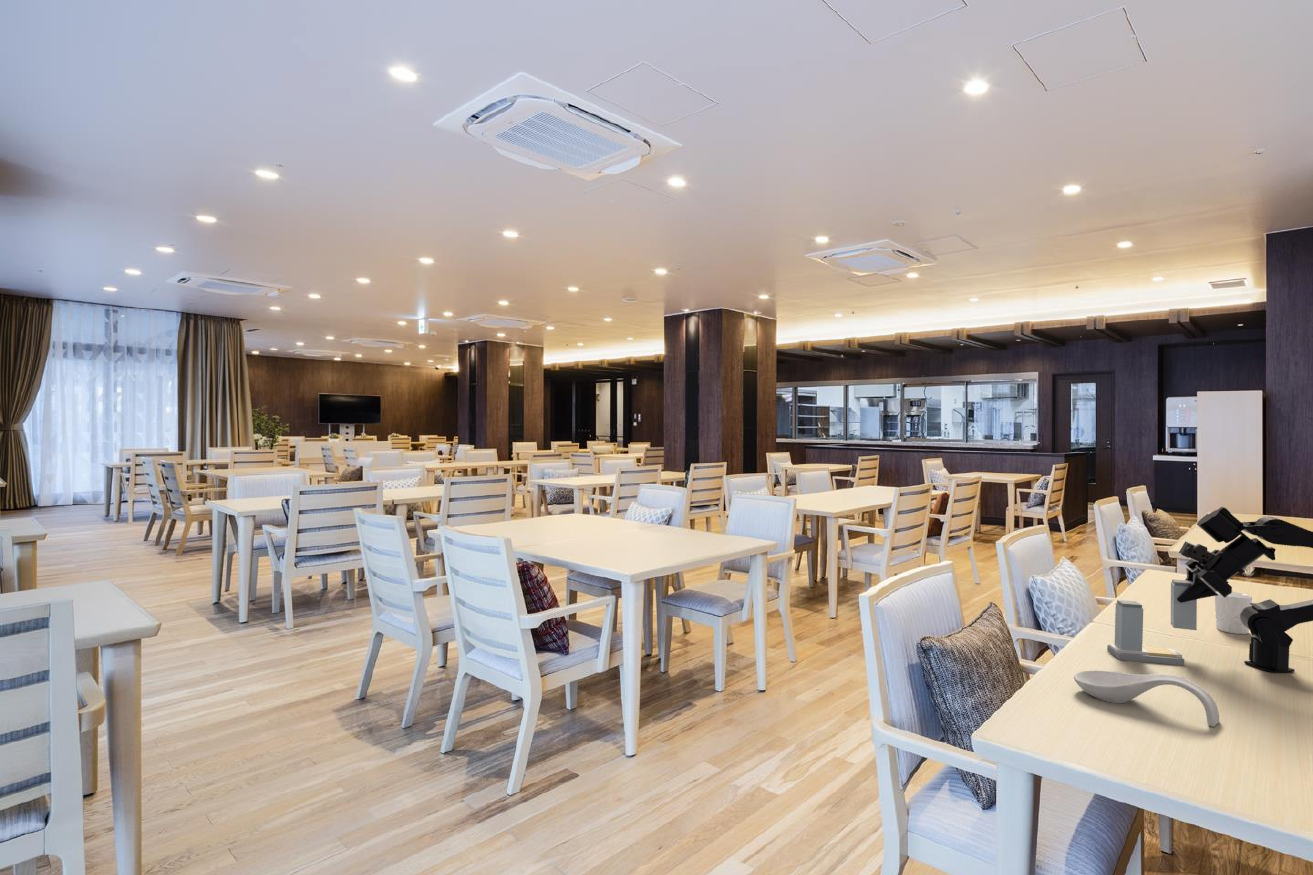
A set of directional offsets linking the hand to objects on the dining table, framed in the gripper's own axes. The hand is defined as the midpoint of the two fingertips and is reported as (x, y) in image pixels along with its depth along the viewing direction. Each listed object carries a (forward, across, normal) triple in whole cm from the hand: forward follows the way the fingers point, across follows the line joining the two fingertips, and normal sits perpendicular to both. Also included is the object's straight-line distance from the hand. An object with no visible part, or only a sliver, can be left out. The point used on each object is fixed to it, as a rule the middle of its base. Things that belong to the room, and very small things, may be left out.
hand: (1176, 599), depth 169 cm
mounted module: (+16, +7, +1) cm, 17 cm away
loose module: (+4, 0, +6) cm, 7 cm away
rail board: (+15, +6, +4) cm, 16 cm away
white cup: (-3, -34, +23) cm, 41 cm away
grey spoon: (+18, +42, +1) cm, 45 cm away
